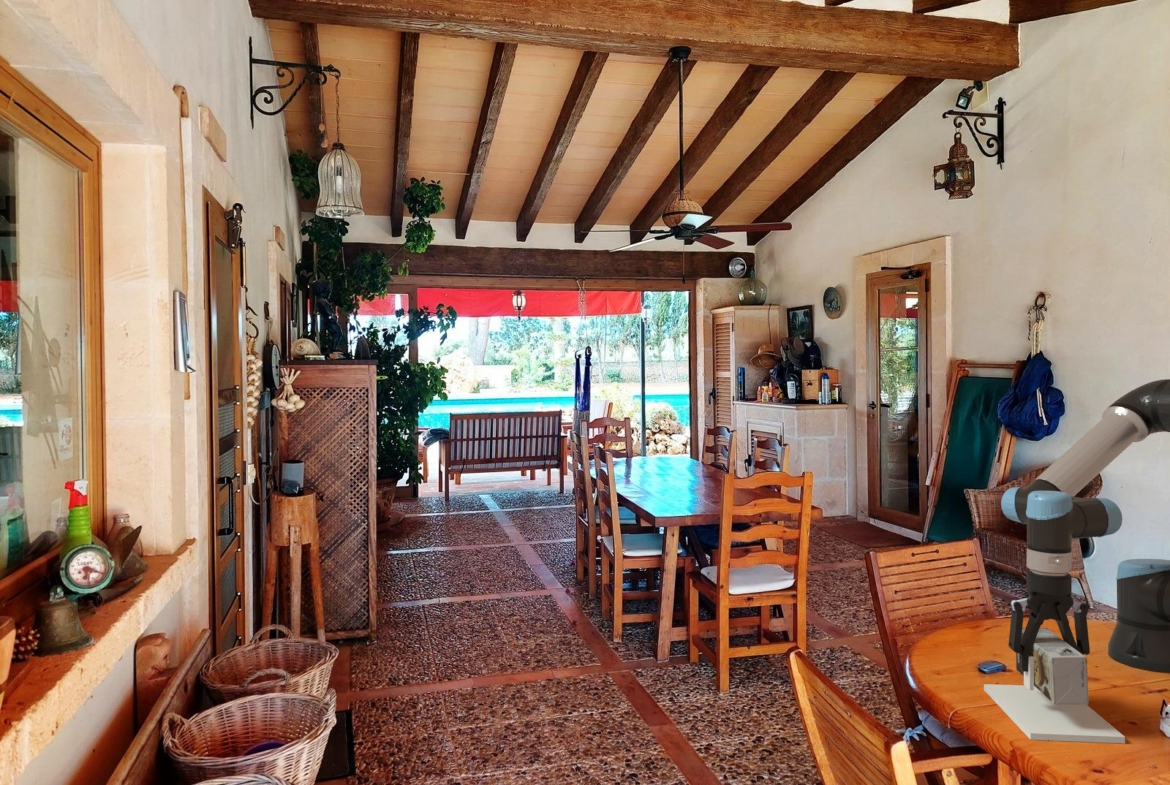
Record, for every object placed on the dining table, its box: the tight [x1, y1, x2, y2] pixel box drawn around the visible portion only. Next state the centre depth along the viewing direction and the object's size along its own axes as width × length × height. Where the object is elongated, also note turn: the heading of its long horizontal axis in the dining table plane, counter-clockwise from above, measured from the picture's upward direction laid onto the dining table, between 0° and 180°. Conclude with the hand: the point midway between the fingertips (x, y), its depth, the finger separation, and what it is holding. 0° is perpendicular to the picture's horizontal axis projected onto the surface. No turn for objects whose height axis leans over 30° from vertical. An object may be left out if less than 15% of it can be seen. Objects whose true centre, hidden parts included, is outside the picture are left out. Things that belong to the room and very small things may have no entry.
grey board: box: [983, 683, 1126, 745], centre depth 150 cm, size 16×22×1 cm
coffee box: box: [1015, 627, 1090, 705], centre depth 150 cm, size 9×6×16 cm
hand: (1048, 687), depth 150 cm, fingers closed on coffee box, 6 cm apart
